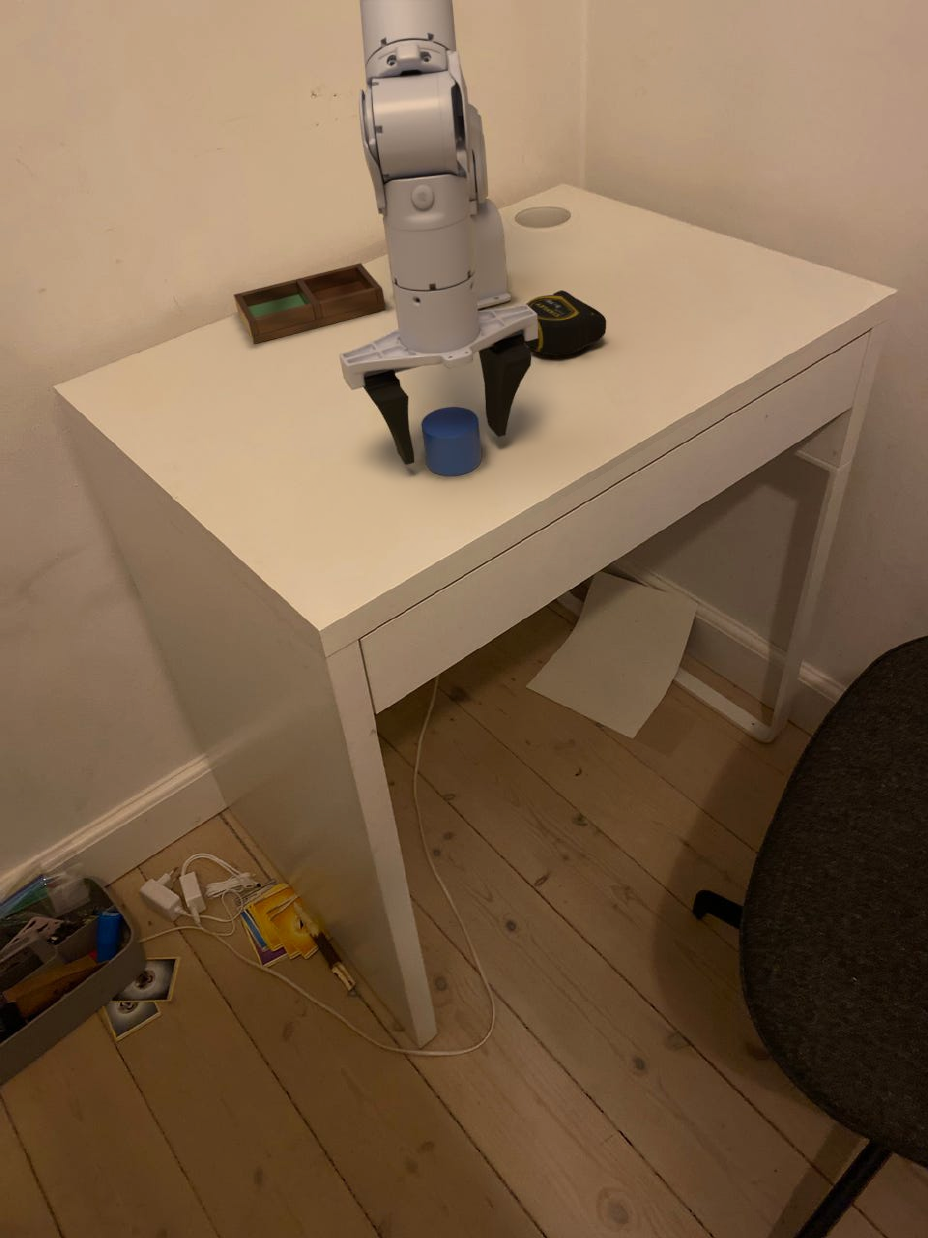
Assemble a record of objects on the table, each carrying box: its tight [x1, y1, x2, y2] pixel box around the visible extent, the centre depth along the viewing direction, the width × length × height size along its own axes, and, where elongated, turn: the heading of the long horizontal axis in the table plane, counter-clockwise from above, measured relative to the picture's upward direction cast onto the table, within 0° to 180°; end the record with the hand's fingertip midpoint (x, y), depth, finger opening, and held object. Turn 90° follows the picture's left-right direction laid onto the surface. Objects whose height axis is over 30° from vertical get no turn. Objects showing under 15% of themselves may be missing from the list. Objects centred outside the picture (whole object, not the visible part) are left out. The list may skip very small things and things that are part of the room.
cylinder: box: [420, 406, 482, 477], centre depth 72 cm, size 4×4×4 cm
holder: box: [233, 262, 386, 345], centre depth 94 cm, size 14×7×2 cm, turn 112°
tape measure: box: [524, 290, 607, 356], centre depth 84 cm, size 7×7×4 cm
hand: (452, 443), depth 72 cm, fingers open, 7 cm apart
